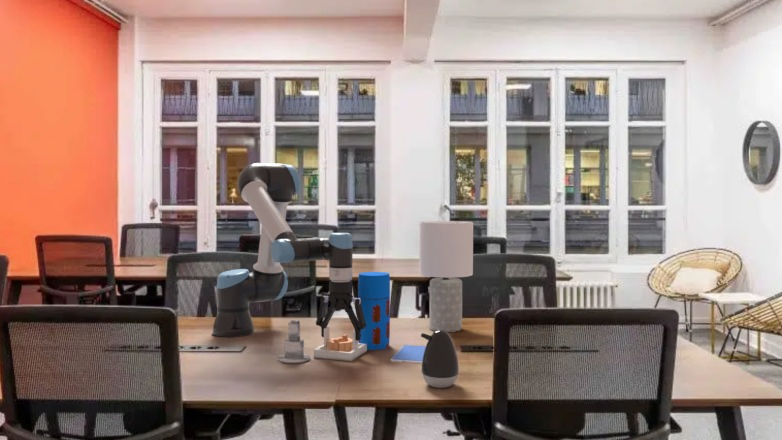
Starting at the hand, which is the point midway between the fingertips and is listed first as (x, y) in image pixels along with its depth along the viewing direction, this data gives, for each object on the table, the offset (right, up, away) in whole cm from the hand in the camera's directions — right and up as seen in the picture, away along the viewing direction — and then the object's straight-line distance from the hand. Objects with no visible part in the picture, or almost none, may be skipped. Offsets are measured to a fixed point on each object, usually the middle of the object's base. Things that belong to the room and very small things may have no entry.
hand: (340, 348), depth 198 cm
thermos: (+11, -2, +11) cm, 15 cm away
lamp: (+38, -1, +38) cm, 54 cm away
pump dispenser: (+30, -3, -32) cm, 44 cm away
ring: (0, -1, 0) cm, 1 cm away
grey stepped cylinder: (-14, -2, -6) cm, 16 cm away
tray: (0, -2, 0) cm, 2 cm away
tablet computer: (+24, -3, 0) cm, 24 cm away
